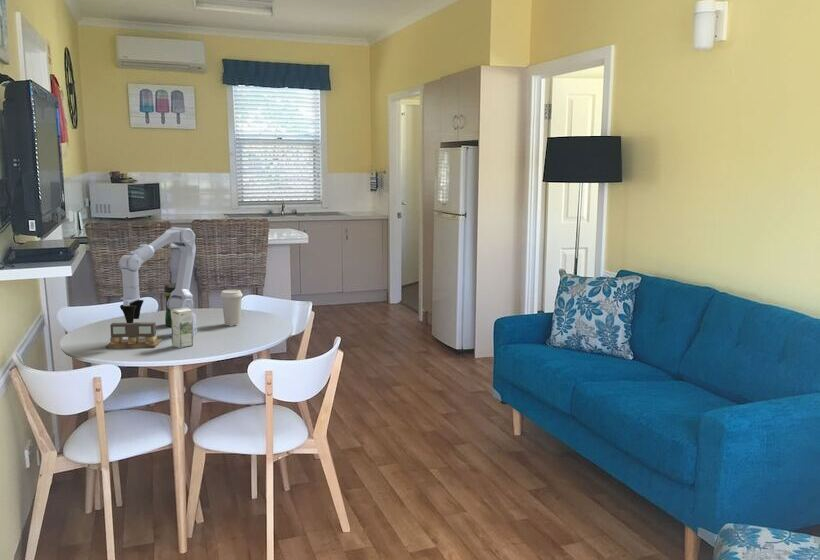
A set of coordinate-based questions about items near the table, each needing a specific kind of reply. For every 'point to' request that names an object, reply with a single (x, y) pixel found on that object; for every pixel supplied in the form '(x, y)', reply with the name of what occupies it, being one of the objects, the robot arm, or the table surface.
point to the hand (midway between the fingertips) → (133, 321)
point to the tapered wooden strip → (133, 329)
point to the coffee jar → (167, 292)
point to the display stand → (133, 342)
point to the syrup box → (182, 327)
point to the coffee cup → (231, 306)
